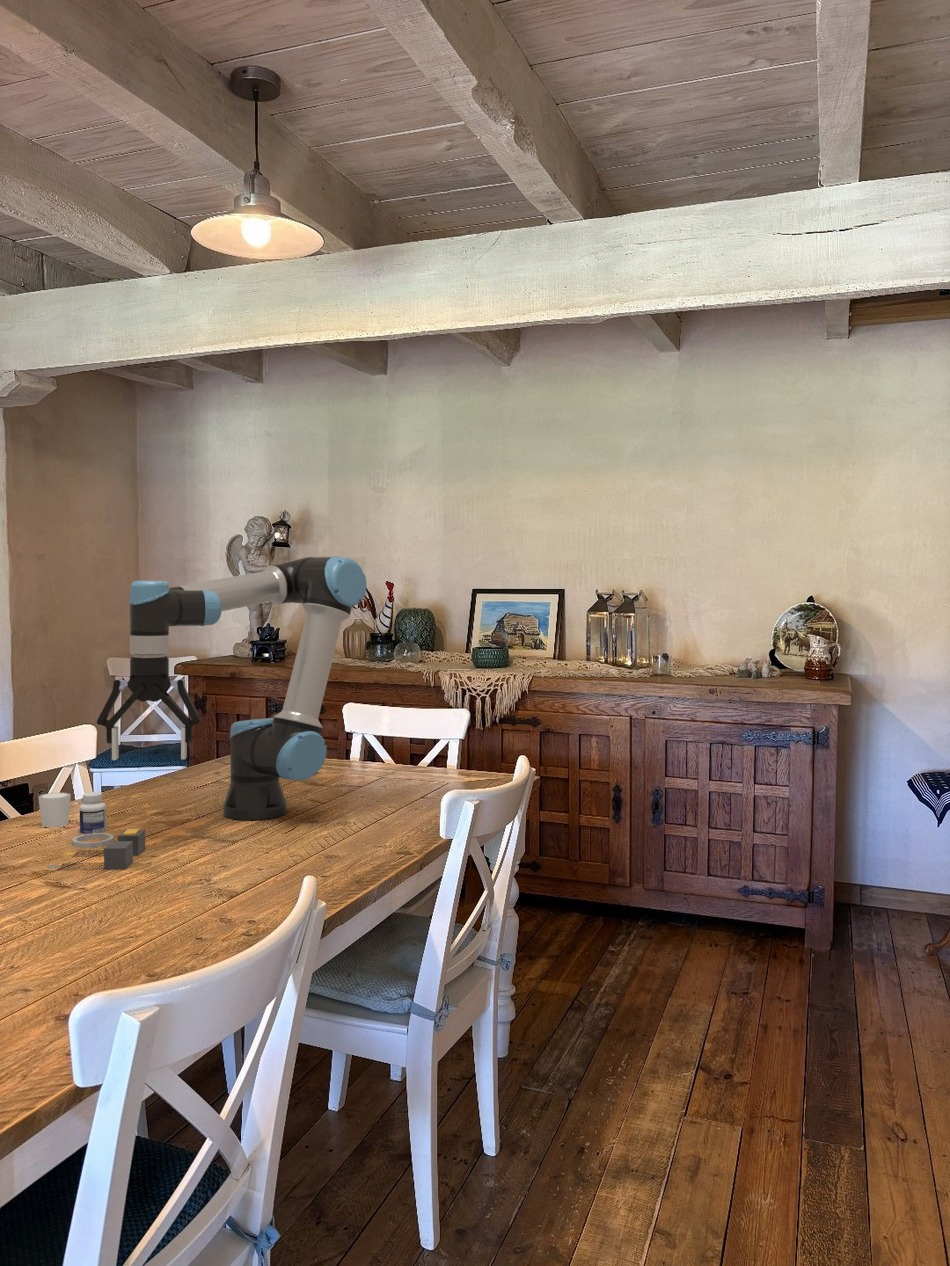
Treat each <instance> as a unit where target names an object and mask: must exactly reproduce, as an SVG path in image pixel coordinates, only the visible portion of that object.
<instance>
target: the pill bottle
mask: <svg viewBox="0 0 950 1266" xmlns="http://www.w3.org/2000/svg"><path fill="white" fill-rule="evenodd" d="M102 800H103V793H102V792H101V791H89V792H85V793H83V794H82V801H83V803H81V804H80V806H79V833H80V834H81V835H84V834H91V833H106V832H107V808H106V807H107V805H106V803H105V802H103V801H102Z"/></svg>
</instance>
